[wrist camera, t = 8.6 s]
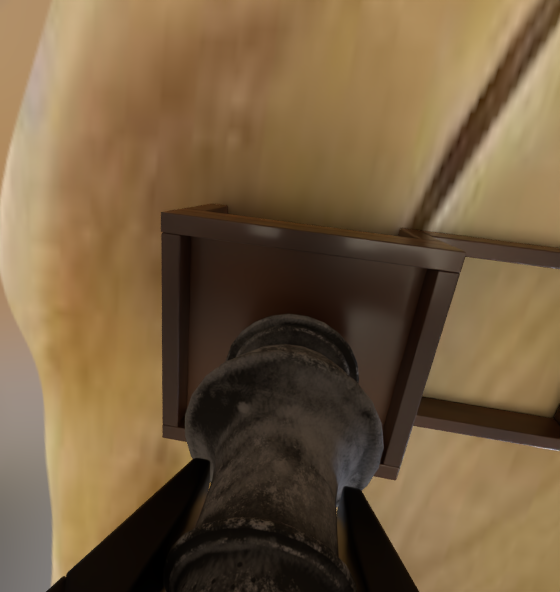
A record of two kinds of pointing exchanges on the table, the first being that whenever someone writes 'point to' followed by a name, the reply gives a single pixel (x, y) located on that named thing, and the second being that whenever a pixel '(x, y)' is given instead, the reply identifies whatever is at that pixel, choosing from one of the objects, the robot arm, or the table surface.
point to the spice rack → (330, 312)
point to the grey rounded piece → (276, 462)
